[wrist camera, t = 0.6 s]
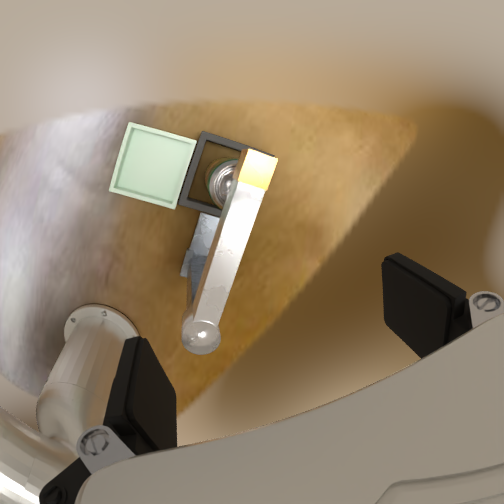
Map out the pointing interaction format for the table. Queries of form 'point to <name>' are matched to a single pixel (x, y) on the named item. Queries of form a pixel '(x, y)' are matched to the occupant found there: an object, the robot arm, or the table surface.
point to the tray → (152, 165)
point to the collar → (184, 195)
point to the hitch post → (198, 253)
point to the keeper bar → (226, 251)
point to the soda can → (220, 179)
